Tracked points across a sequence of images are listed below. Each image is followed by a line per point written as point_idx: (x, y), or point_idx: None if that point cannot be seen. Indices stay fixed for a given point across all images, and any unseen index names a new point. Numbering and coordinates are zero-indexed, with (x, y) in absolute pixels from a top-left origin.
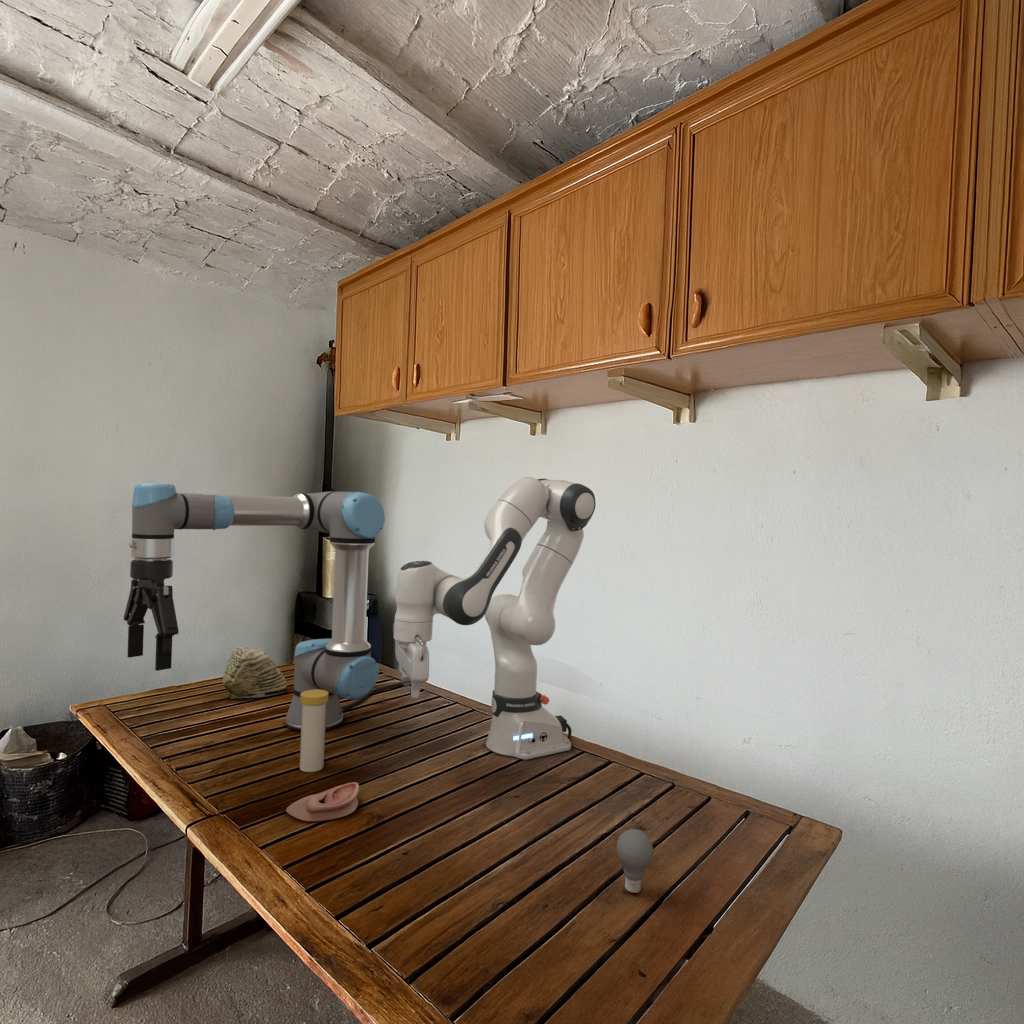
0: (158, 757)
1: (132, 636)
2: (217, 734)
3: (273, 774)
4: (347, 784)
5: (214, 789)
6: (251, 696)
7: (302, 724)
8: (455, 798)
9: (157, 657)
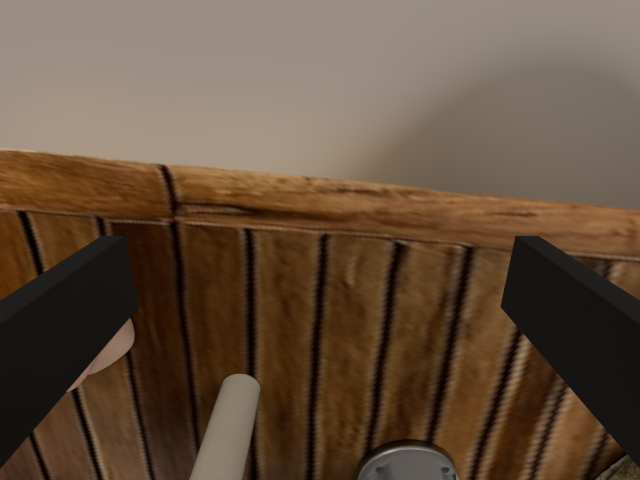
0: (481, 244)
1: (610, 329)
2: (494, 357)
3: (257, 340)
4: (75, 381)
5: (269, 253)
6: (609, 471)
7: (222, 443)
8: (17, 451)
9: (46, 273)
